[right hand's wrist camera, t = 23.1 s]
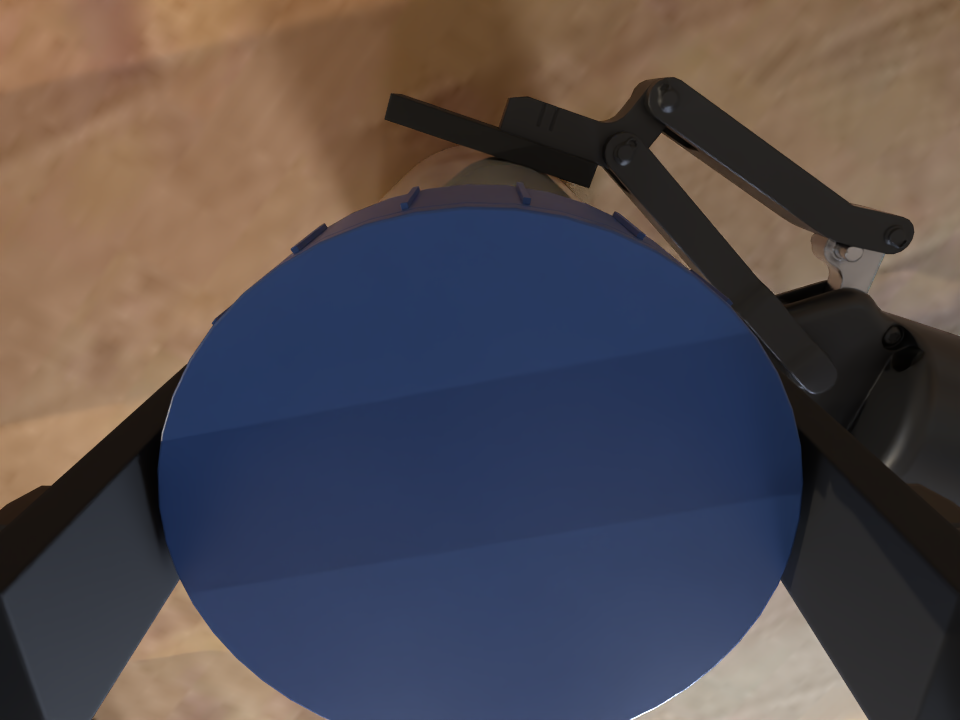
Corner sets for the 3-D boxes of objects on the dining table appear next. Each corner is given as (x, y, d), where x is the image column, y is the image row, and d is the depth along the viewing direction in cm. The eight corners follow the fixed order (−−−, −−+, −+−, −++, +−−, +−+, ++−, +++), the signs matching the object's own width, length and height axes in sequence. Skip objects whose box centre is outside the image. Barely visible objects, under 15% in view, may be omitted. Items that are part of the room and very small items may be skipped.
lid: (719, 645, 14) (764, 747, 12) (262, 659, 14) (221, 763, 12) (781, 169, 10) (865, 188, 8) (159, 195, 11) (71, 220, 8)
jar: (620, 280, 29) (841, 564, 11) (452, 382, 31) (415, 762, 13) (512, 97, 26) (581, 89, 8) (334, 221, 28) (83, 430, 10)
